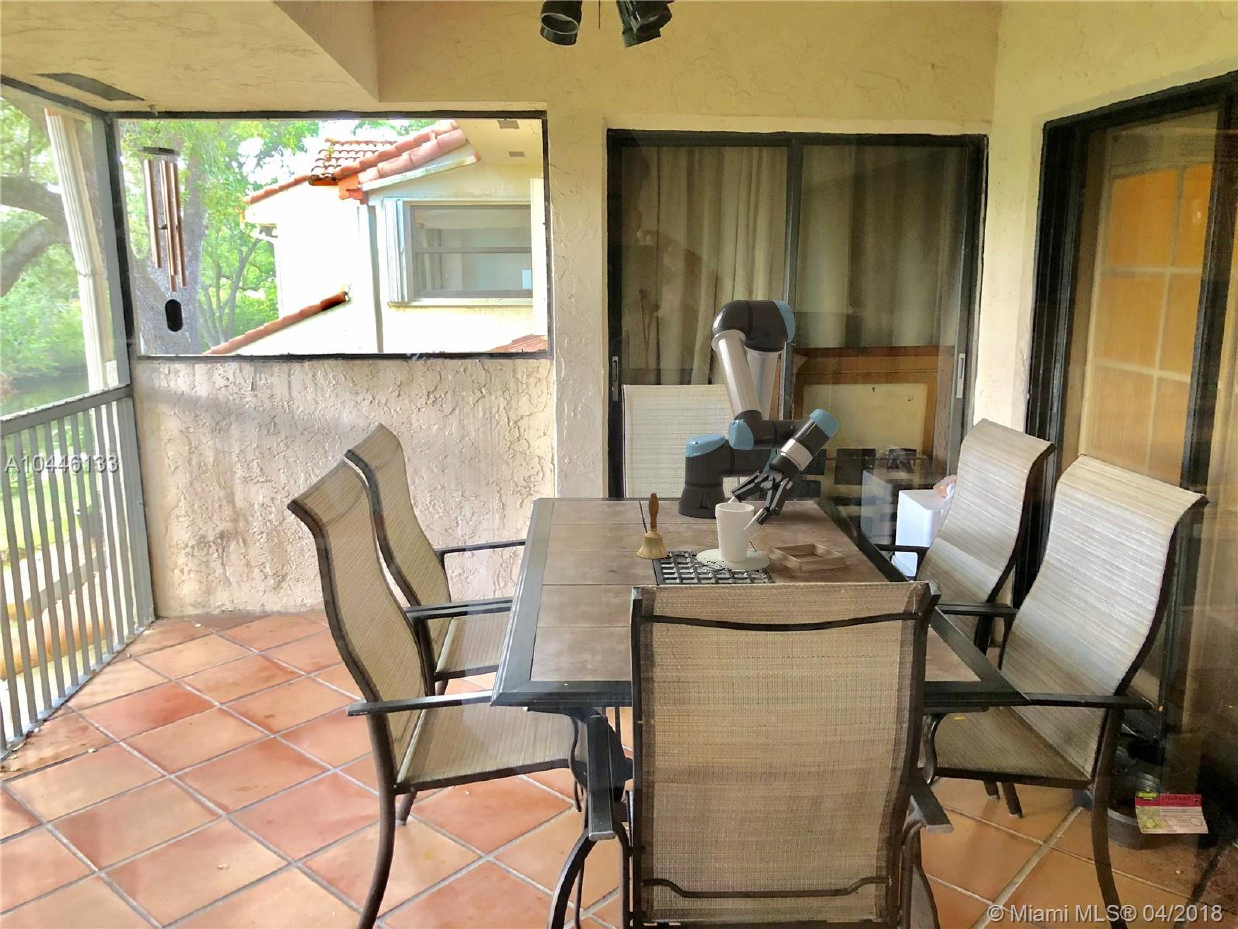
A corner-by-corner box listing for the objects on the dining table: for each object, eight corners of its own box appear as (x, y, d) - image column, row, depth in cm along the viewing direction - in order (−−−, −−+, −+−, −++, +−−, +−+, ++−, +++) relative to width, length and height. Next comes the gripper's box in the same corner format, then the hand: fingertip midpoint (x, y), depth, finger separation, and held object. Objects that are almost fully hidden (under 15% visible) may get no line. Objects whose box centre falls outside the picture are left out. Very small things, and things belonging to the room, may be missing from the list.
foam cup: (750, 564, 219) (753, 512, 216) (712, 562, 220) (714, 510, 218) (752, 553, 228) (754, 503, 225) (716, 551, 230) (717, 501, 227)
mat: (681, 559, 225) (681, 556, 225) (729, 546, 236) (729, 544, 236) (736, 576, 211) (736, 573, 211) (784, 562, 223) (784, 560, 223)
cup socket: (768, 556, 228) (769, 547, 227) (814, 551, 233) (814, 542, 233) (799, 572, 216) (799, 562, 215) (846, 566, 221) (847, 556, 220)
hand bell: (659, 561, 222) (660, 498, 219) (630, 556, 226) (631, 493, 224) (675, 554, 229) (677, 492, 226) (647, 548, 233) (648, 488, 231)
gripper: (827, 482, 215) (769, 548, 212) (771, 462, 238) (718, 522, 235) (809, 461, 212) (750, 528, 209) (754, 443, 235) (701, 504, 232)
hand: (733, 525), depth 222 cm, fingers open, 13 cm apart
